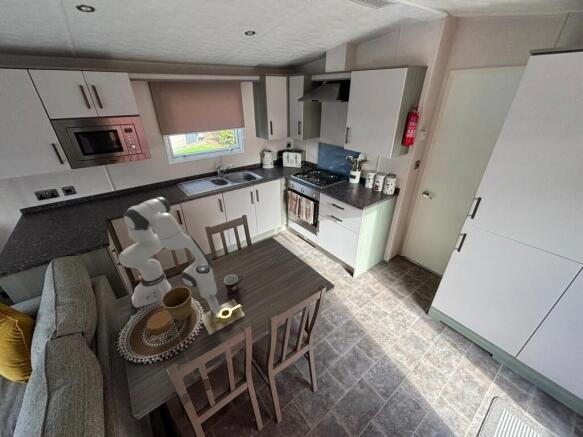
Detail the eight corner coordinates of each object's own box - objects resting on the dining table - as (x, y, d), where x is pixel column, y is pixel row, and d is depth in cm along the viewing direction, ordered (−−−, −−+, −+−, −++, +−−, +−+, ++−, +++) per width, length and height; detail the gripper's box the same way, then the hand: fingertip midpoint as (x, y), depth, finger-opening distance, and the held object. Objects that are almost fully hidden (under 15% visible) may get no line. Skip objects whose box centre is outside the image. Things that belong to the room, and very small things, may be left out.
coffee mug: (226, 297, 151) (224, 285, 146) (225, 287, 158) (223, 276, 153) (244, 293, 153) (243, 281, 148) (243, 283, 161) (241, 272, 156)
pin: (212, 315, 137) (209, 306, 133) (210, 312, 139) (207, 302, 135) (216, 313, 139) (214, 303, 135) (215, 309, 141) (212, 300, 137)
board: (209, 336, 127) (209, 335, 127) (200, 317, 138) (200, 315, 137) (245, 316, 138) (244, 315, 138) (234, 299, 149) (233, 298, 148)
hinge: (213, 331, 129) (211, 325, 126) (208, 323, 133) (207, 317, 130) (243, 314, 138) (242, 308, 136) (238, 307, 143) (238, 301, 140)
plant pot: (187, 301, 148) (182, 282, 140) (201, 314, 139) (195, 295, 131) (164, 317, 138) (156, 298, 130) (177, 332, 129) (169, 312, 121)
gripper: (221, 299, 124) (225, 317, 131) (207, 277, 139) (211, 294, 145) (209, 305, 121) (213, 323, 128) (196, 282, 135) (201, 299, 142)
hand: (212, 307), depth 137 cm, fingers open, 8 cm apart
